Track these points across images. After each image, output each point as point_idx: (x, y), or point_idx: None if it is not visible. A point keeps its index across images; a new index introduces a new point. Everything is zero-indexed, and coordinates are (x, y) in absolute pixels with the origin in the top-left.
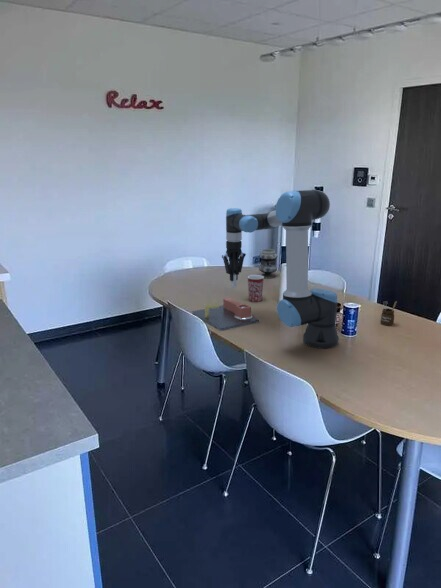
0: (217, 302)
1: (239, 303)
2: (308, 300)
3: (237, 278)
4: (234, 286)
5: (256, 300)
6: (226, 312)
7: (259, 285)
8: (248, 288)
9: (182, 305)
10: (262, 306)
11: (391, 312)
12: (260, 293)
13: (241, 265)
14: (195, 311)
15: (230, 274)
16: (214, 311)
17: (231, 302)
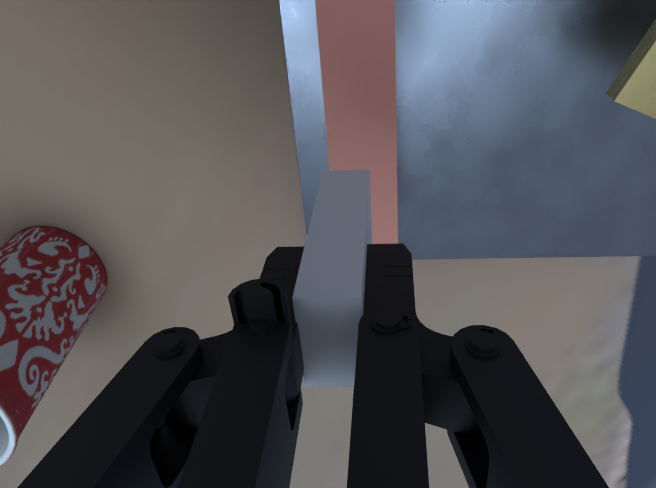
0: (618, 98)
1: (332, 30)
2: None
3: (267, 264)
4: (358, 176)
5: (56, 236)
6: (443, 88)
7: None
8: (65, 353)
9: (592, 405)
10: (45, 116)
11: None
12: None
13: (63, 476)
14: (653, 243)
15: (432, 340)
16: (519, 166)
17: (393, 111)
